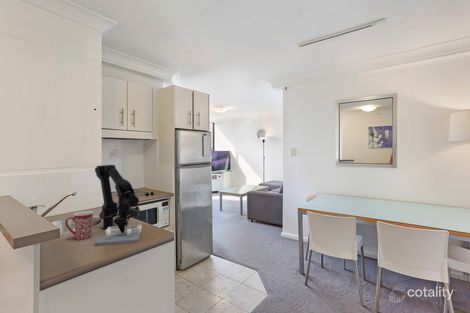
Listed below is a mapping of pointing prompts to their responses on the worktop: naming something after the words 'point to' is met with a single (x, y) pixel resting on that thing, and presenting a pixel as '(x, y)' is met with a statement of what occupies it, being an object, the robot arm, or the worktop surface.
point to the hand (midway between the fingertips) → (124, 230)
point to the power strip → (117, 231)
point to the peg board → (118, 238)
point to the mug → (81, 224)
